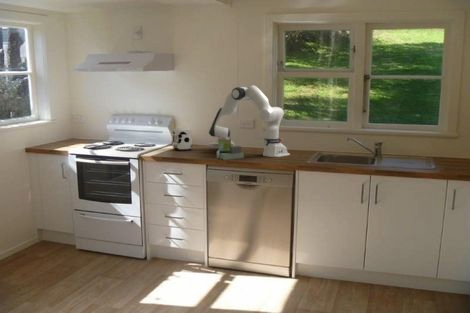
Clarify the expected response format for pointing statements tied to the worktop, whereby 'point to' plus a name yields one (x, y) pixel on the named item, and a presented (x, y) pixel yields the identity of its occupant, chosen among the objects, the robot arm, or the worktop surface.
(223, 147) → the tea box
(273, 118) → the robot arm
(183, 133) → the milk container
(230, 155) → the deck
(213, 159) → the worktop surface
